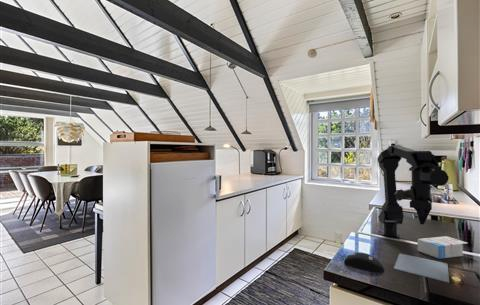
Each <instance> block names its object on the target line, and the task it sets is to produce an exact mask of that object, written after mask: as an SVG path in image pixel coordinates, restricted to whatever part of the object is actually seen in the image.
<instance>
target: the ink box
mask: <svg viewBox="0 0 480 305" xmlns="http://www.w3.org/2000/svg"><path fill="white" fill-rule="evenodd" d="M463 244H464V245H465V244H469V243H468V242H467V241H463V240H460V239H457V238H453V237H451V236H447V235H445V236H436V237H425V238H417V252H421V253H423V254H426V255H428V256H431V257H433V258H436V259H438V260H441V259H448V258H457V257H463V256H464V253H463V252H464V251H463Z"/></svg>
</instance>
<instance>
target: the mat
mask: <svg viewBox="0 0 480 305" xmlns="http://www.w3.org/2000/svg"><path fill="white" fill-rule="evenodd" d="M448 266H449V265H448V263H447V262H443V261H437V260H433V259H428V258H423V257H419V256H414V255H408V254H404V253H398V257H397V259H396V261H395V264H394V266H393V270H397V271H401V272H405V273H408V274H413V275H416V276H420V277H425V278H429V279H431V280H437V281H440V282H445V283H450V274H449V267H448Z"/></svg>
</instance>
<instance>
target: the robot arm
mask: <svg viewBox="0 0 480 305" xmlns="http://www.w3.org/2000/svg"><path fill="white" fill-rule="evenodd" d="M402 159H403V160H405V161H406V163H408V164H409V165H410V166H411V167H409V169H408V171H409V172H410V171H411V173H410V174H411V185H410V187H409V189H402V188H401V189H397V180H396V179H397V178H396V170H397V169H398V167H399V162H400V161H401V160H402ZM377 163H378V165H379V166H378V167H379V168H380V169H381V171H382V173H383V187H384V198H385V199H384V203H383V204H382V206H381V211H380V213H379V215H378V221H379V222H380V223H381V224H383V232H382V233H381V236H384V237H390V238H395V239H398V238H399V236H400V233H398V225H402V224H403V221H404V216H405V215H404V212H403V211H404V210H403V206H402V205H400V203H398V201H399V202H400V201H402V200H407V199H410V201H409V208H411V209H414V210H415V211H416V214H417V217H418V221H419V224H420V225H423V226H424V225H425V224H426V221H427V219H428V217H429V214H430V213H431V210H432V209H433V208H432V206H433V198H432V194H431V193H432V192H431V189H432V187H431V186H439V187H442V186H445V185H446V184H447V183H448V181H449V175H448V173H447V172H446V171H445V170H443V169H442V168H443V167H442V165H440V163H439V162H438V161H437V159H436V158H435V155H434V154H433V152H432V151H430V150H414V149H411V148H408V147H405V146H403V145H400V144H399V145H398V144H397V145H395V144H394V145H388V147H387V148H385V149H384V150H382V151H381V152H379V155H378V157H377Z"/></svg>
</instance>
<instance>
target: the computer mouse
mask: <svg viewBox="0 0 480 305" xmlns="http://www.w3.org/2000/svg"><path fill="white" fill-rule="evenodd" d="M343 263H344V265H345V266H348V267H351V268H355V269H358V270H362V271H366V272H370V273H379V274H380V273H382V272H384V270H385V268H384V266H383V263H382V262H381V261H379V260H378V258H376V257H374V256H373V255H372V254H368V253H365V252H354V253H353V252H352V253H350V254H348V255H347V256H346V257H345V258H344V261H343Z"/></svg>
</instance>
